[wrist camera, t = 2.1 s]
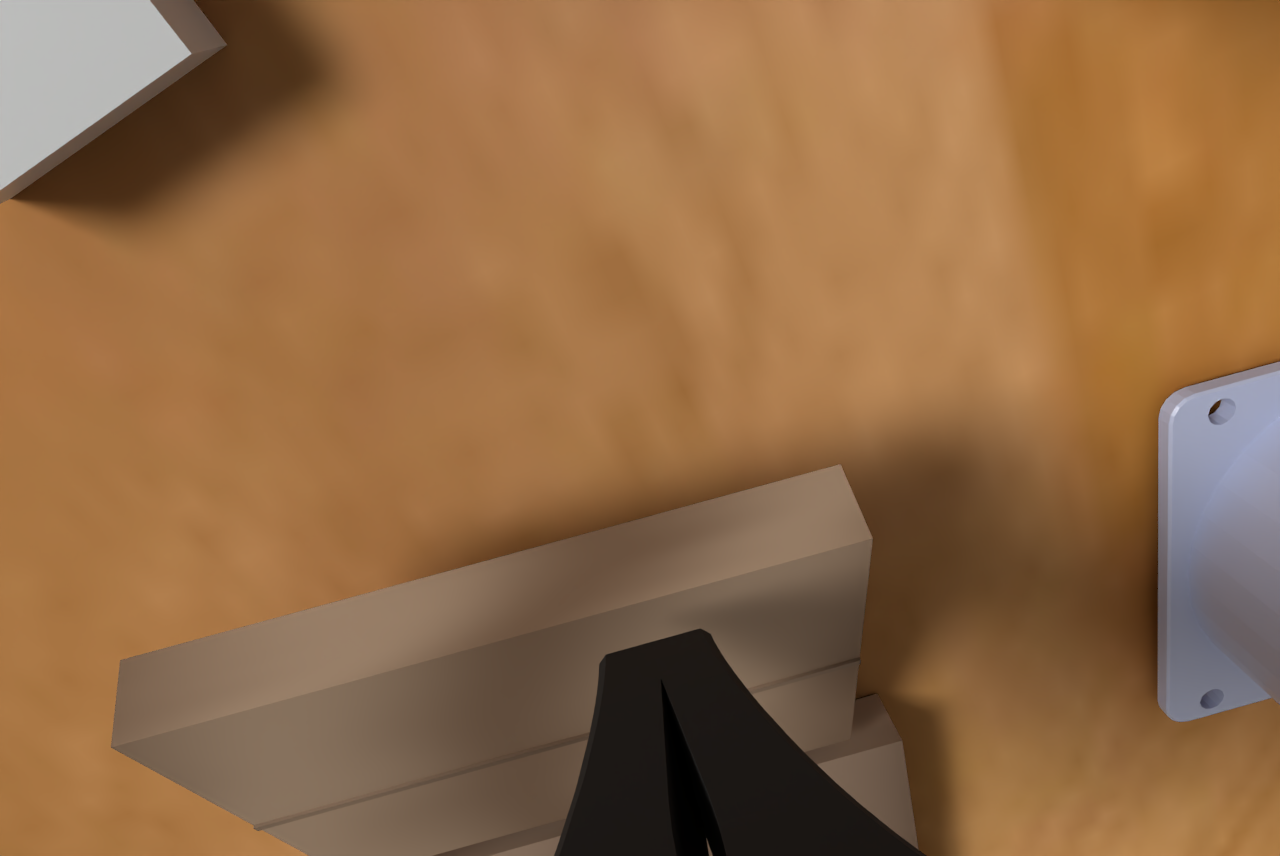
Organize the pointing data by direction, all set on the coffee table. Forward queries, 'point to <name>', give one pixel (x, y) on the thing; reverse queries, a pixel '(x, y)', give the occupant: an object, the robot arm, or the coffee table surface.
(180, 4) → the light grey block
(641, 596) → the board
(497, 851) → the laid board
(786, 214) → the coffee table surface
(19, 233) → the coffee table surface
